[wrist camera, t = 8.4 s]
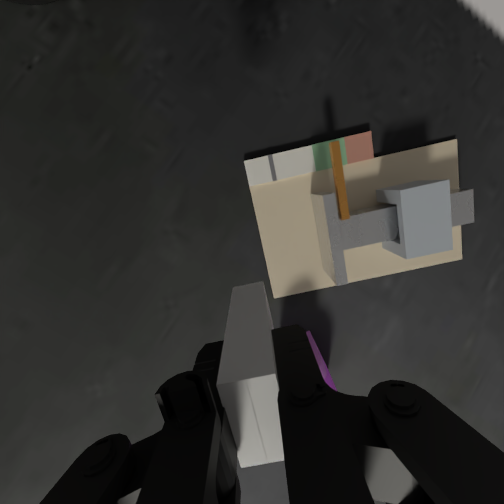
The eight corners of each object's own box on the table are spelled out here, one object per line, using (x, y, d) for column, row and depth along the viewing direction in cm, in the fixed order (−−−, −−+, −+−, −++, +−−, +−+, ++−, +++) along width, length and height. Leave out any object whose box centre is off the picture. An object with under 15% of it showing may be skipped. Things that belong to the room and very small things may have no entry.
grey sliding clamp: (303, 151, 26) (314, 144, 21) (447, 118, 25) (490, 103, 21) (323, 270, 29) (337, 285, 24) (454, 242, 28) (492, 253, 23)
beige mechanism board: (244, 161, 26) (242, 156, 22) (453, 112, 25) (498, 95, 21) (273, 297, 30) (278, 317, 25) (460, 258, 29) (500, 272, 24)
